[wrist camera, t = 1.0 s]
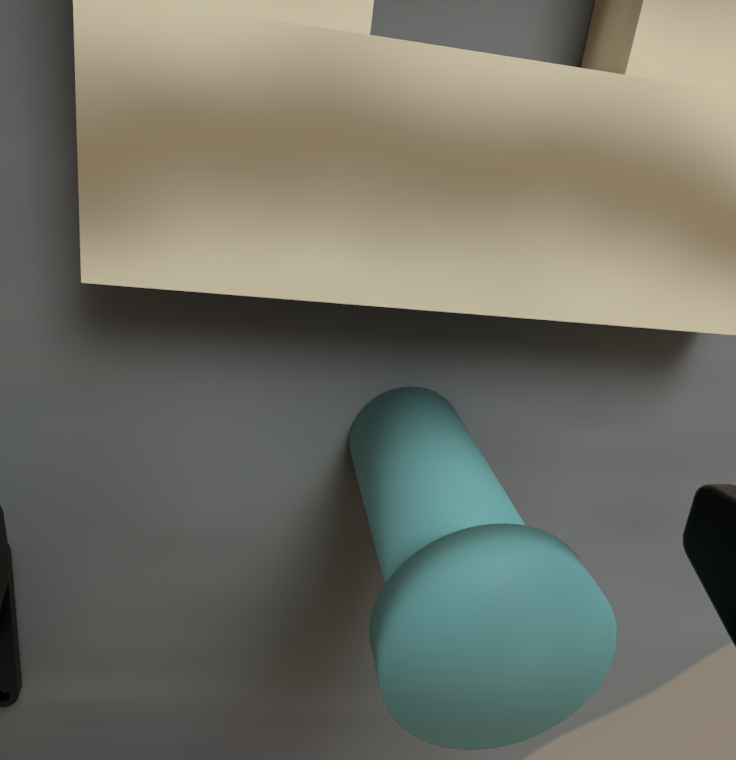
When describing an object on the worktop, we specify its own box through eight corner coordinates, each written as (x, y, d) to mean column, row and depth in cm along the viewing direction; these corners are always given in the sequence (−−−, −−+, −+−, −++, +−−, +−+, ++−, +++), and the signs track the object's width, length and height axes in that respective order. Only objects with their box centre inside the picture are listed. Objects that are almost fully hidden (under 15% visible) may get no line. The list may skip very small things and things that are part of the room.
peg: (464, 505, 23) (583, 744, 15) (322, 501, 22) (364, 754, 14) (492, 373, 21) (645, 563, 13) (338, 363, 21) (399, 560, 12)
